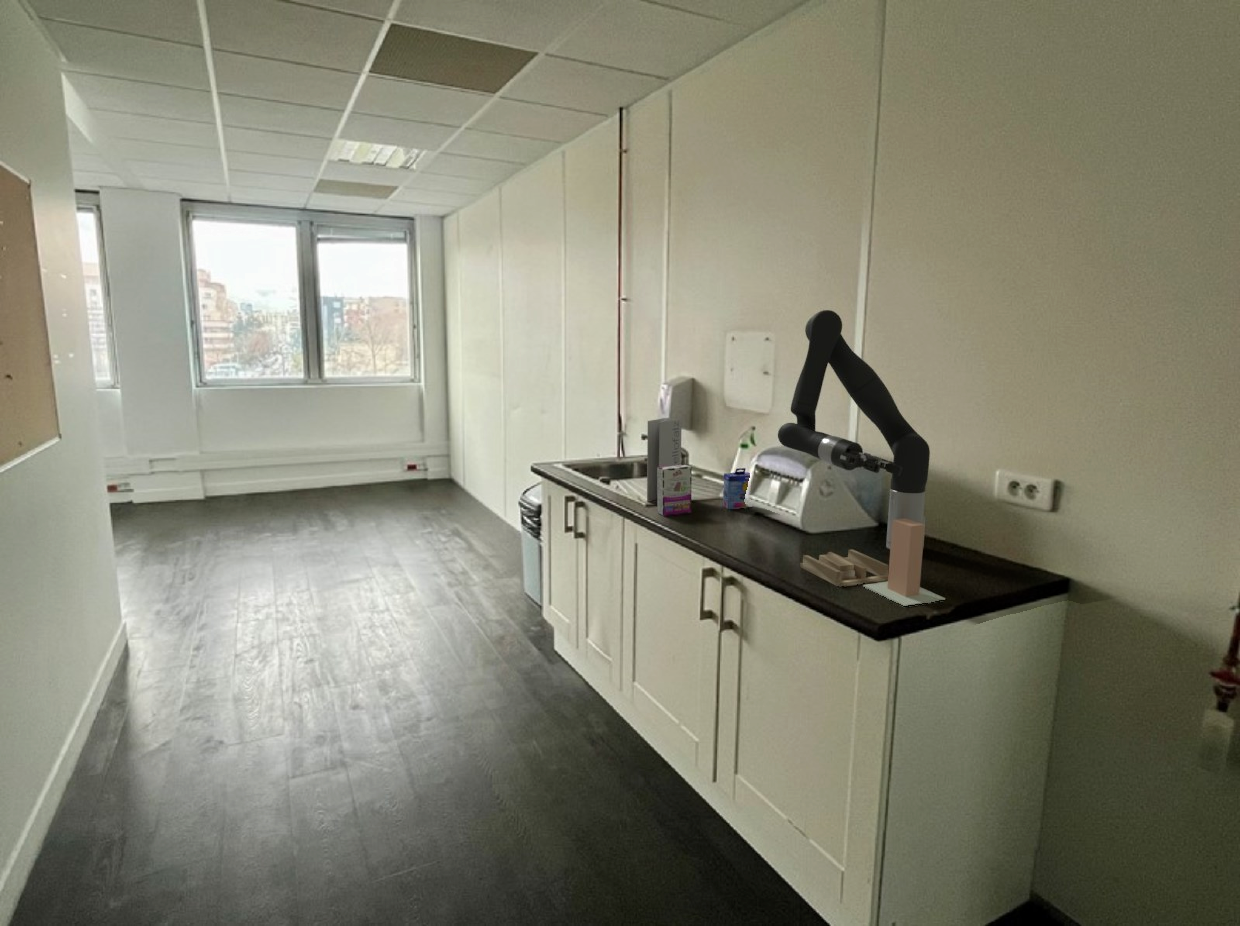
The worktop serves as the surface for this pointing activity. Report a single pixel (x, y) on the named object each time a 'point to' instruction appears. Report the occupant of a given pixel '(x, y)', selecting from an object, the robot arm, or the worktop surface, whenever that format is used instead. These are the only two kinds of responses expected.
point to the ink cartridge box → (735, 489)
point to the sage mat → (923, 596)
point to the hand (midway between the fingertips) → (889, 470)
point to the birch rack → (860, 568)
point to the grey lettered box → (662, 450)
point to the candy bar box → (674, 490)
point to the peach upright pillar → (905, 557)
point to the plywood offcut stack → (839, 566)
